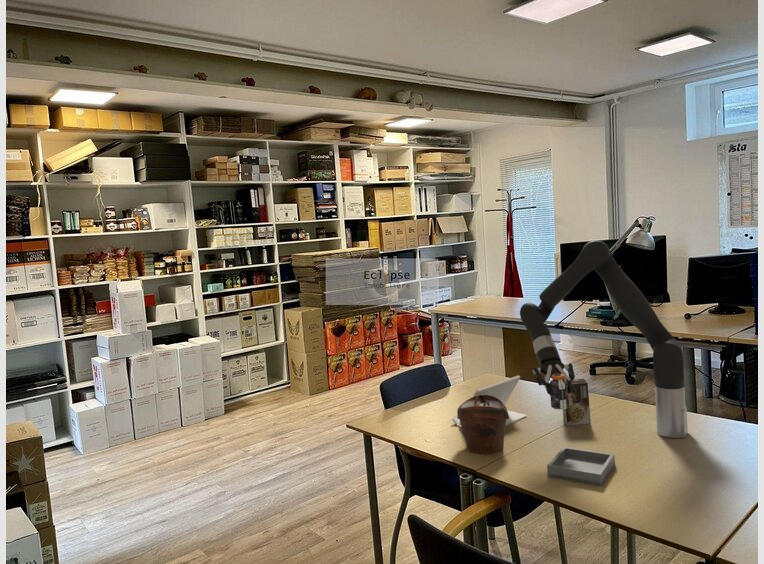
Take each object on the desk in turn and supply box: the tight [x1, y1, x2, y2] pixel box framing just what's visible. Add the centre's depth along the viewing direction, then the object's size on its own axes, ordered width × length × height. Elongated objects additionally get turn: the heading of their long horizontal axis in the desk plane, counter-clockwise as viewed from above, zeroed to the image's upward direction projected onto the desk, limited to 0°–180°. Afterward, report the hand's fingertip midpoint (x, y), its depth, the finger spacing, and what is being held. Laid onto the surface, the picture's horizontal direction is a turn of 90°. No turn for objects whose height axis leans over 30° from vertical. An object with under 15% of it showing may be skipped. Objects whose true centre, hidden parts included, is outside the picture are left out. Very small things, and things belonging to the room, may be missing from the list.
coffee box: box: [562, 378, 592, 426], centre depth 220 cm, size 9×6×16 cm
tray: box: [546, 446, 616, 487], centre depth 179 cm, size 16×16×4 cm
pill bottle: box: [549, 374, 569, 410], centre depth 196 cm, size 6×6×11 cm
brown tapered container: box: [456, 395, 509, 455], centre depth 205 cm, size 18×20×18 cm
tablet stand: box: [451, 375, 528, 426], centre depth 231 cm, size 18×25×17 cm
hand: (561, 393), depth 194 cm, fingers closed on pill bottle, 6 cm apart
